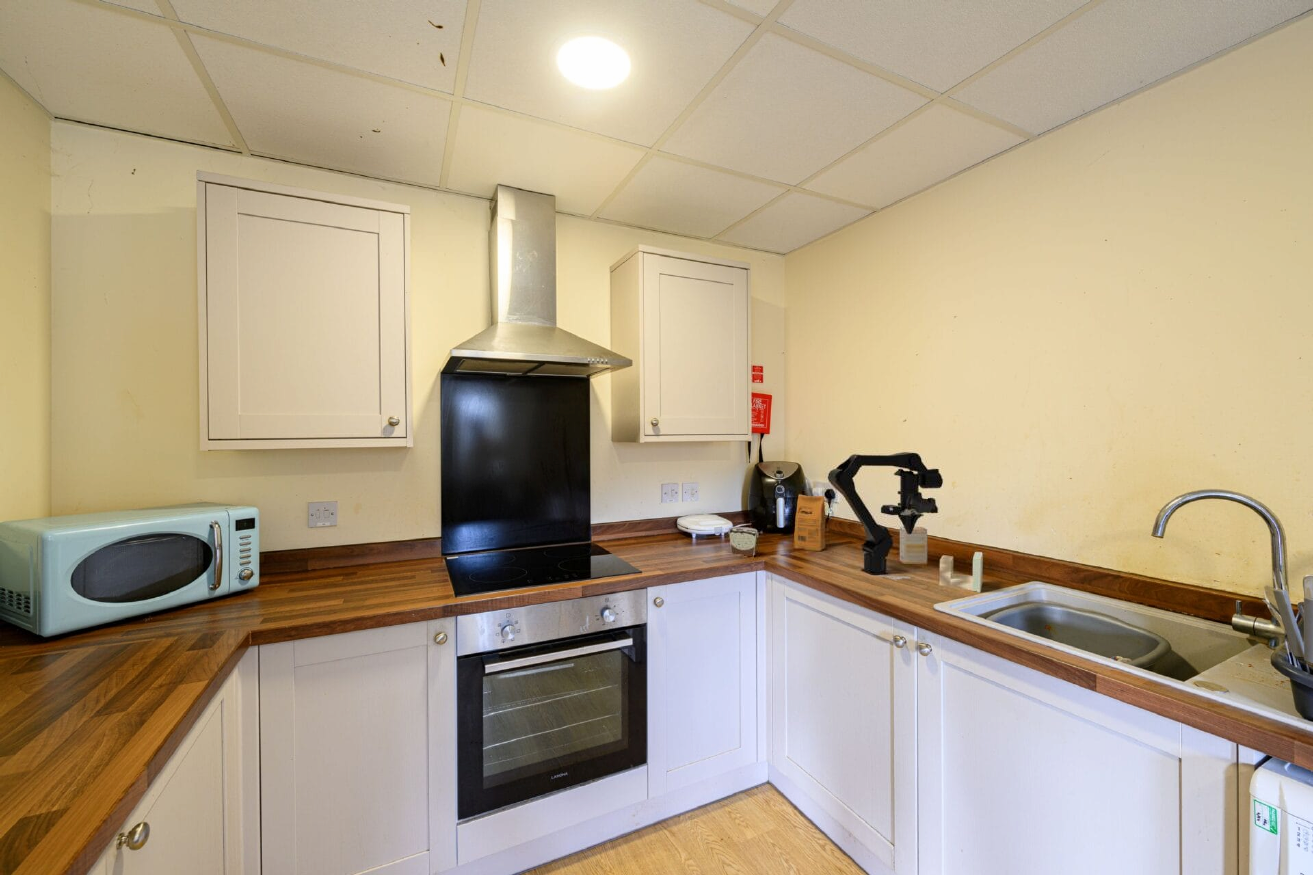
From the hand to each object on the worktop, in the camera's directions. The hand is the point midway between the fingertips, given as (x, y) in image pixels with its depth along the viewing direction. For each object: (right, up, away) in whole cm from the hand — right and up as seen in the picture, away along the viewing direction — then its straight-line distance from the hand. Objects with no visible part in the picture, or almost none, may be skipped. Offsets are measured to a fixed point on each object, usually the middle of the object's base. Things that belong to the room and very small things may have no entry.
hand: (909, 534), depth 181 cm
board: (+13, -13, -18) cm, 25 cm away
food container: (-52, -13, +25) cm, 59 cm away
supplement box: (+7, -13, +12) cm, 19 cm away
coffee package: (-24, -13, +36) cm, 45 cm away
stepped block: (+8, -13, -15) cm, 21 cm away
